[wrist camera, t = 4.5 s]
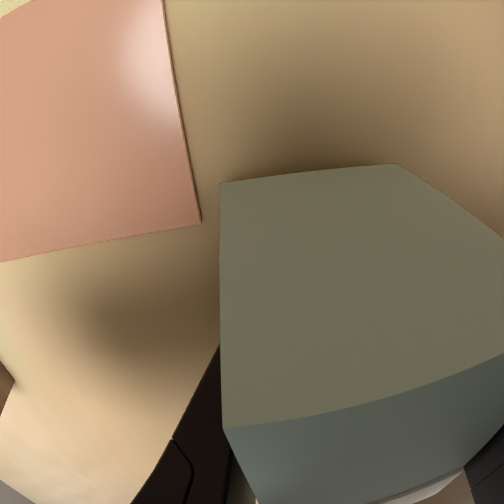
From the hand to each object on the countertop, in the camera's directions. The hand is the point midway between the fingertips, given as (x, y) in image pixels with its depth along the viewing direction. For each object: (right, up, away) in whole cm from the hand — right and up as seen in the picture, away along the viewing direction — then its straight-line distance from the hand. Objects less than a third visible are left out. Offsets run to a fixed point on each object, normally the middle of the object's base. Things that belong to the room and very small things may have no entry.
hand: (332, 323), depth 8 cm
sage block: (0, +1, +1) cm, 2 cm away
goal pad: (-9, +5, -1) cm, 10 cm away
